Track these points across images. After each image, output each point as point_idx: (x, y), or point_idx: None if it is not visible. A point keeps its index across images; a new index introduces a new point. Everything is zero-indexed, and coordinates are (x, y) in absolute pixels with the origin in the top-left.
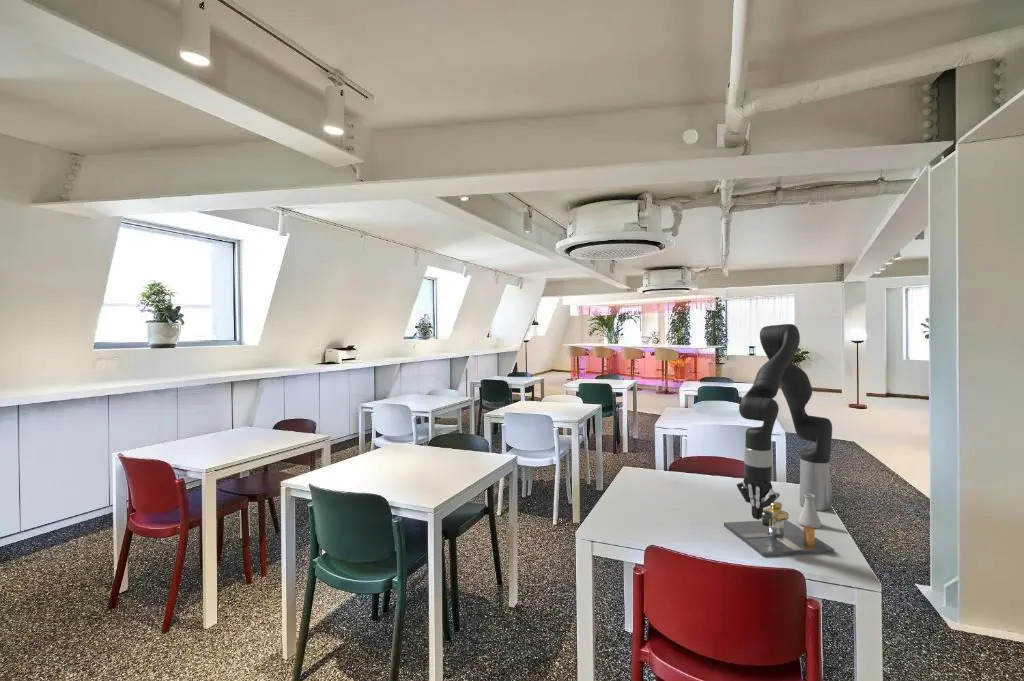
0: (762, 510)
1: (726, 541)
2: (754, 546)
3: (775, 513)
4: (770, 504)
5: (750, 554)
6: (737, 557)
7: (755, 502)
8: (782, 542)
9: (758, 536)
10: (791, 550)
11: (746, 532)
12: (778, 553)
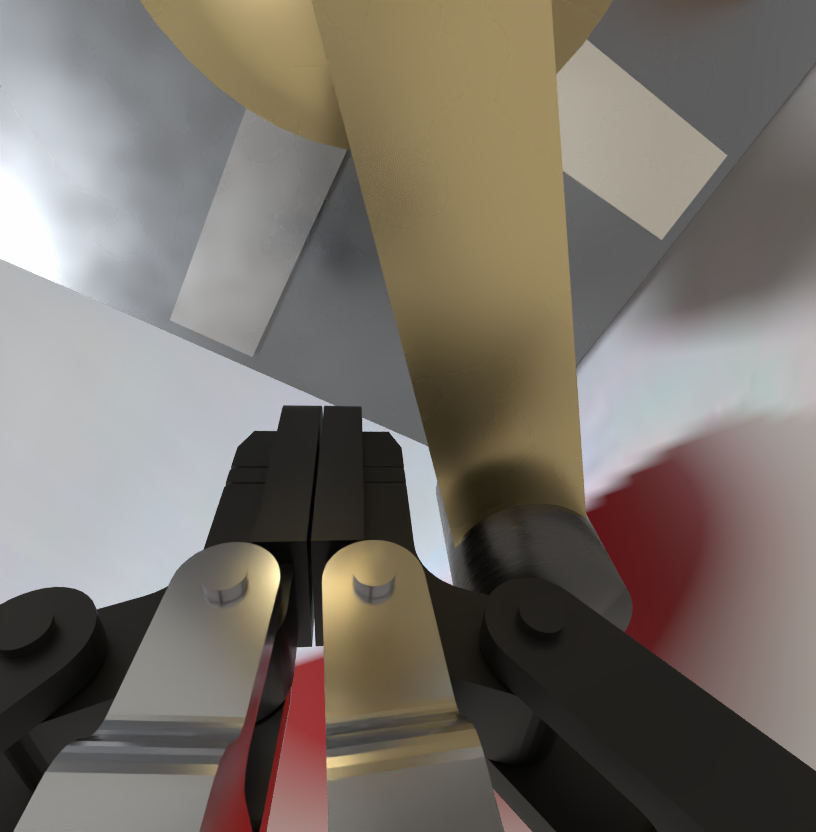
0: (407, 529)
1: (173, 449)
2: (387, 425)
3: (570, 300)
4: (628, 660)
5: (408, 487)
6: None
7: (265, 693)
8: None
9: (295, 228)
10: (642, 263)
11: (148, 220)
12: None
